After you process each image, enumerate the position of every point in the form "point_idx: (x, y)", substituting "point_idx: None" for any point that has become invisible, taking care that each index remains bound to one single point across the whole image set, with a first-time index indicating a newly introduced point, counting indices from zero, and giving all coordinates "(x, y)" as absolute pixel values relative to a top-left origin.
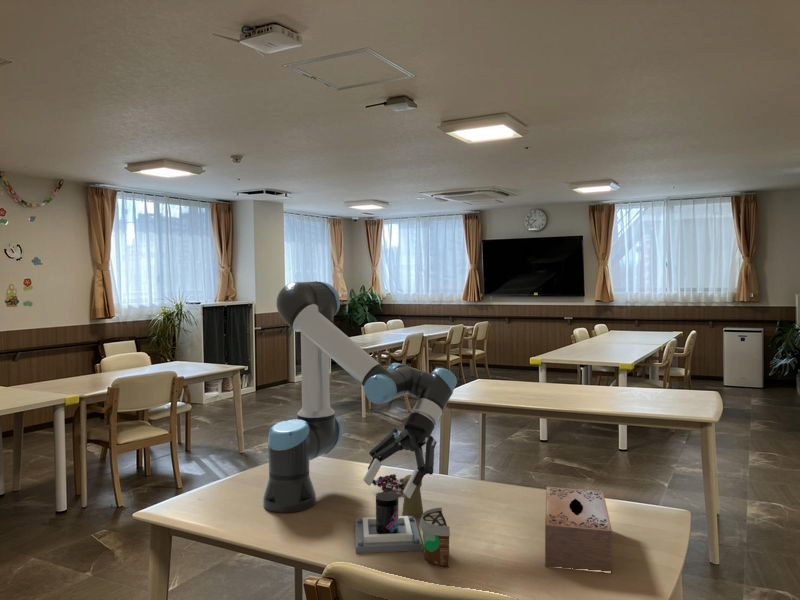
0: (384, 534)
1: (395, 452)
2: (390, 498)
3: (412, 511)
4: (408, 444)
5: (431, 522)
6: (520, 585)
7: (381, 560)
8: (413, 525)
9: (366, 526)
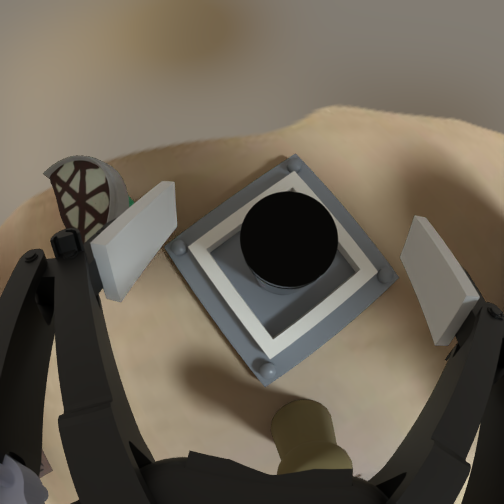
0: None
1: (403, 440)
2: (266, 228)
3: (290, 413)
4: (231, 494)
5: (87, 184)
6: (14, 230)
7: (226, 163)
8: (240, 339)
9: None
